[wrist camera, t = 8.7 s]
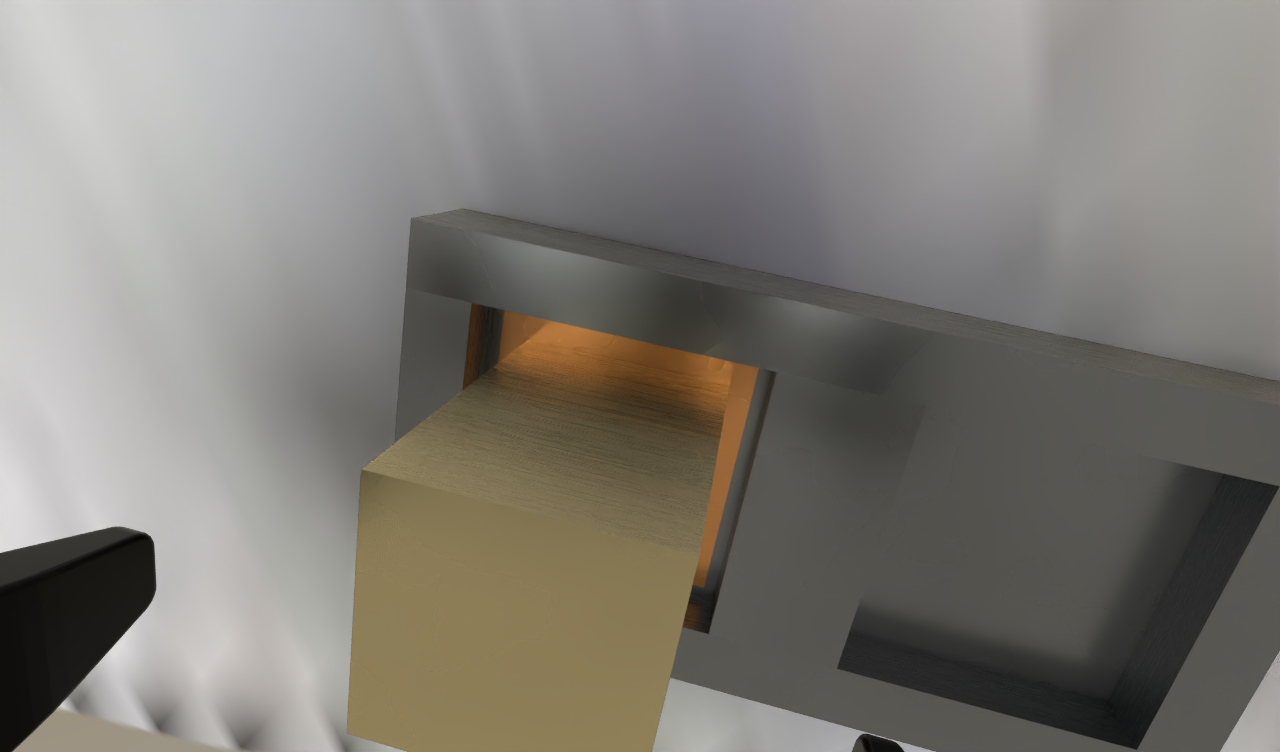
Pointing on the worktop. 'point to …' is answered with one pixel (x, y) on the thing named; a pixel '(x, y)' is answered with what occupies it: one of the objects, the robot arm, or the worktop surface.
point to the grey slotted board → (912, 494)
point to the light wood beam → (532, 558)
